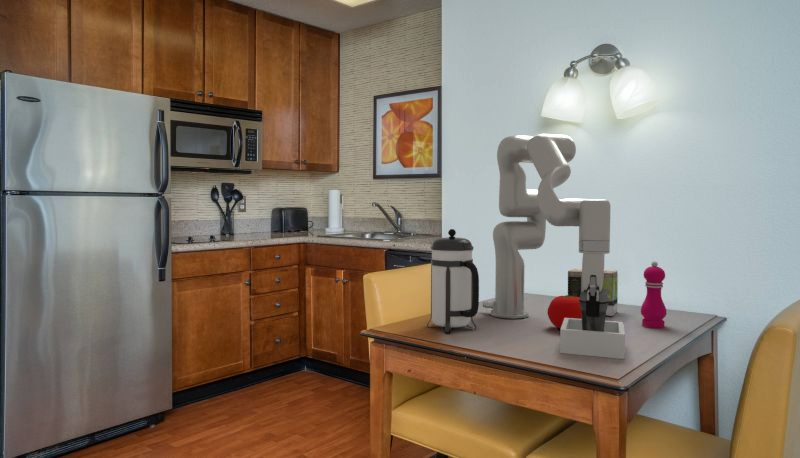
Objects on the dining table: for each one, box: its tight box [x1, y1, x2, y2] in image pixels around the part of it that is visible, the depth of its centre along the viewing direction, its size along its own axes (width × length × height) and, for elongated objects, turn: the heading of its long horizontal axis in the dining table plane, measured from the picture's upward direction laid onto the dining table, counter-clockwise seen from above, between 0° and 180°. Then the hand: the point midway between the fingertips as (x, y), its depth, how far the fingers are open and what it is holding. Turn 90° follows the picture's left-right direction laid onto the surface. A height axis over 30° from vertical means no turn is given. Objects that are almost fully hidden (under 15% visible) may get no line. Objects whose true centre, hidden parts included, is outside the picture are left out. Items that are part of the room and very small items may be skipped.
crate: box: [559, 318, 626, 360], centre depth 140 cm, size 15×15×6 cm
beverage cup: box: [579, 288, 609, 332], centre depth 139 cm, size 7×7×20 cm
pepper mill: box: [640, 261, 668, 329], centre depth 166 cm, size 7×7×20 cm
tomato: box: [547, 293, 582, 329], centre depth 162 cm, size 11×12×10 cm
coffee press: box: [426, 228, 480, 334], centre depth 161 cm, size 17×16×30 cm
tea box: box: [567, 268, 619, 317], centre depth 188 cm, size 15×10×15 cm
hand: (592, 312), depth 140 cm, fingers open, 9 cm apart
